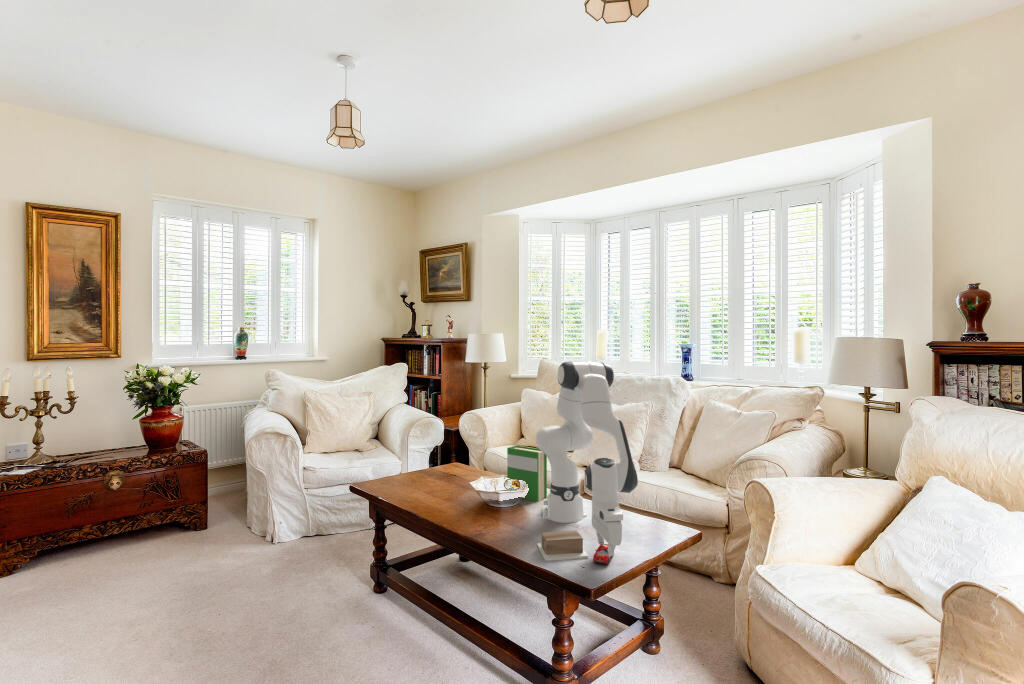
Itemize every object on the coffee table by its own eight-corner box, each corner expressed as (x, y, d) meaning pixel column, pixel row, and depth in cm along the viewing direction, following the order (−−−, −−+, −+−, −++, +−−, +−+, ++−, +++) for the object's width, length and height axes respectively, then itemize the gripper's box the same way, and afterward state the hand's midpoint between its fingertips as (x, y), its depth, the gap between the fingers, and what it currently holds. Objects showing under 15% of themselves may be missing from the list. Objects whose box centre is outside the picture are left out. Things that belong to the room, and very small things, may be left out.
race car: (607, 566, 176) (607, 554, 176) (591, 563, 178) (591, 551, 178) (616, 553, 188) (616, 541, 188) (600, 550, 190) (600, 539, 190)
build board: (537, 546, 195) (537, 543, 195) (576, 543, 197) (576, 540, 197) (545, 562, 181) (545, 558, 181) (588, 559, 183) (588, 555, 183)
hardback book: (546, 501, 250) (546, 449, 249) (537, 505, 244) (537, 452, 244) (517, 494, 261) (516, 445, 260) (507, 498, 255) (507, 447, 255)
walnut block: (541, 546, 192) (541, 532, 192) (576, 543, 194) (576, 530, 194) (546, 555, 184) (546, 540, 184) (582, 552, 186) (582, 538, 186)
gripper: (587, 500, 189) (587, 539, 189) (606, 518, 169) (606, 562, 169) (604, 499, 190) (604, 538, 190) (625, 516, 170) (625, 560, 170)
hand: (605, 549), depth 179 cm, fingers open, 8 cm apart
